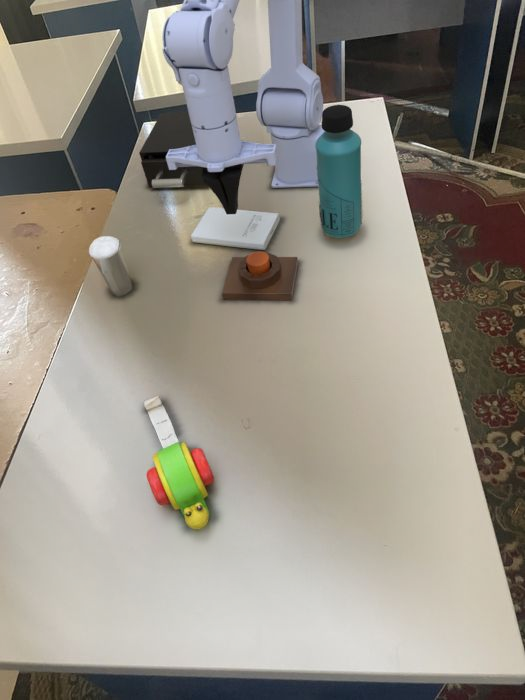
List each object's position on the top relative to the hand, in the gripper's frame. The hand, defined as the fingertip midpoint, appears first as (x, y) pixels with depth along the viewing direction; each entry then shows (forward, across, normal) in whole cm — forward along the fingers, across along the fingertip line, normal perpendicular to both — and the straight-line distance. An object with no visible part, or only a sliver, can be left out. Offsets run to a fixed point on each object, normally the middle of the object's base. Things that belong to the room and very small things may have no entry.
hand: (232, 210), depth 80 cm
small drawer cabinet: (+9, -15, +28) cm, 34 cm away
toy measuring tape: (+9, -2, -36) cm, 37 cm away
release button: (+7, +4, -5) cm, 9 cm away
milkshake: (+10, -17, -6) cm, 21 cm away
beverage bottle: (+10, +15, +6) cm, 19 cm away
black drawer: (+9, -15, +24) cm, 30 cm away
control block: (+9, +4, -5) cm, 11 cm away
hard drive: (+10, -2, +7) cm, 12 cm away
